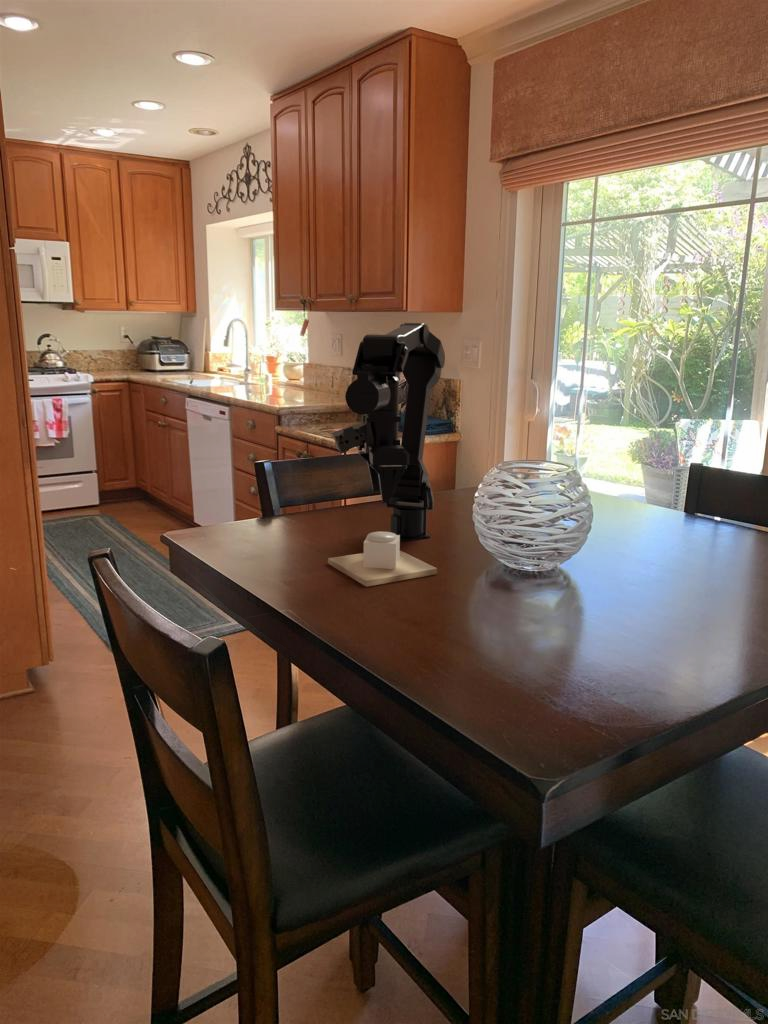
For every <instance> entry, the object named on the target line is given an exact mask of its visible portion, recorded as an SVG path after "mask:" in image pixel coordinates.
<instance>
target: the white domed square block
mask: <svg viewBox="0 0 768 1024" xmlns="http://www.w3.org/2000/svg"><path fill="white" fill-rule="evenodd" d="M400 546H401V540H400V535H396V534H394V533H391V531H374V532H373V531H372V532H369V533H368V534H367V535H366V538H365V540H364V541H363V553H364V558H363V567H369V568H387V569H396V567H397V564H398V562H399V555H400V551H401V549H400V548H401V547H400Z"/></svg>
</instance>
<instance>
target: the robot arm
mask: <svg viewBox="0 0 768 1024" xmlns="http://www.w3.org/2000/svg"><path fill="white" fill-rule="evenodd" d="M428 326H429V325H428V324H425V323H424V322H404V323H402V324H400V325H399V327H397V328H396V329H393V330H392V331H389V332H387V333H386V334H366V335H364V336H363V337H362V341H360V343H359V345H358V349H357V353H356V357H355V360H354V365H353V368H352V376H356V379H355V380H353V381H352V382H351V383H350V384H349V385H348V386H347V389H346V391H345V395H344V396H345V397H344V398H345V403H346V405H347V407H348V408H349V409H350V411H352V412H353V413H355V414H357V415H361V422H358V423H355V424H352V425H349V426H347V427H343V428H341V429H338V430H336V431H334V432H332V433H331V434H332V437H333V439H334V443H335V445H336V448H337V450H338V451H339V453H340V454H342V453H346V452H349V451H350V450H351V449H352V450H353V449H354V448H356V450H357V451H358V452H357V453H358V454H359V455H360V456H361V457H362V458H363V459H364V460H365V461H366V464H367V467H368V472H369V478H370V481H371V486H372V491H373V492H375V493H378V492H380V495H381V501H382V503H383V504H386V508H388V509H391V508H392V514H391V515H390V532H391V533H394V534H396V535H400V541H402V542H411V541H417V540H424V539H430V538H431V535H430V534H428V533H427V512H428V511H431V510H434V504H435V503H434V502H435V501H434V498H435V496H434V493H433V490H432V487H431V483H430V481H429V473H428V471H427V468H426V466H425V464H424V460H423V459H424V458H423V456H424V450H425V449H424V448H425V440H426V431H427V425H428V424H427V423H428V414H429V407H430V406H429V405H430V400H431V399H430V398H431V390H432V389H433V388H434V387H435V386H436V384H437V383H438V382H439V380H440V379H441V374H442V369H443V368H444V366H445V364H446V363H445V362H446V355H445V354H446V353H445V350H444V347H443V344H442V341H441V339H439V338H438V337H437V336H435V334H433V333H432V332H430V329H429V327H428ZM401 373H402V375H403V377H404V378H405V381H406V384H407V393H406V402H405V409H404V417H403V427H402V435H401V439H400V438H399V423H401V422H402V416H401V415H400V414H399V411H400V410H399V409H400V408H399V406H400V405H399V401H400V400H399V399H400V398H399V397H400V381H401V377H400V375H401Z"/></svg>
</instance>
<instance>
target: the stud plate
mask: <svg viewBox="0 0 768 1024" xmlns="http://www.w3.org/2000/svg"><path fill="white" fill-rule="evenodd" d="M363 558H364V552H361V553H355V554H346V555H342V556H335V557H328V558H327V564H328V565H330V566H331V567H333V568H335V569H336V570H338V571H340V572H341V573H343V574H345V575H346V576H348V577H349V578H352V579H353V580H354V581H356V582H358V583H360V584H361V585H362V586H364V587H372V586H377V585H384V584H389V583H396V582H399V581H404V580H405V581H406V580H410V579H416V578H422V577H423V578H424V577H427V576H432V575H437V574H438V568H437V567H434V566H433V565H430V564H429V563H427V562H425V561H423V560H421V559H419V558H416V557H415V556H412V555H410V554H408V553H406V552H404V551H402V550H400V555H399V562H398V564H397V567H396V569H387V568H369V567H363Z"/></svg>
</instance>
